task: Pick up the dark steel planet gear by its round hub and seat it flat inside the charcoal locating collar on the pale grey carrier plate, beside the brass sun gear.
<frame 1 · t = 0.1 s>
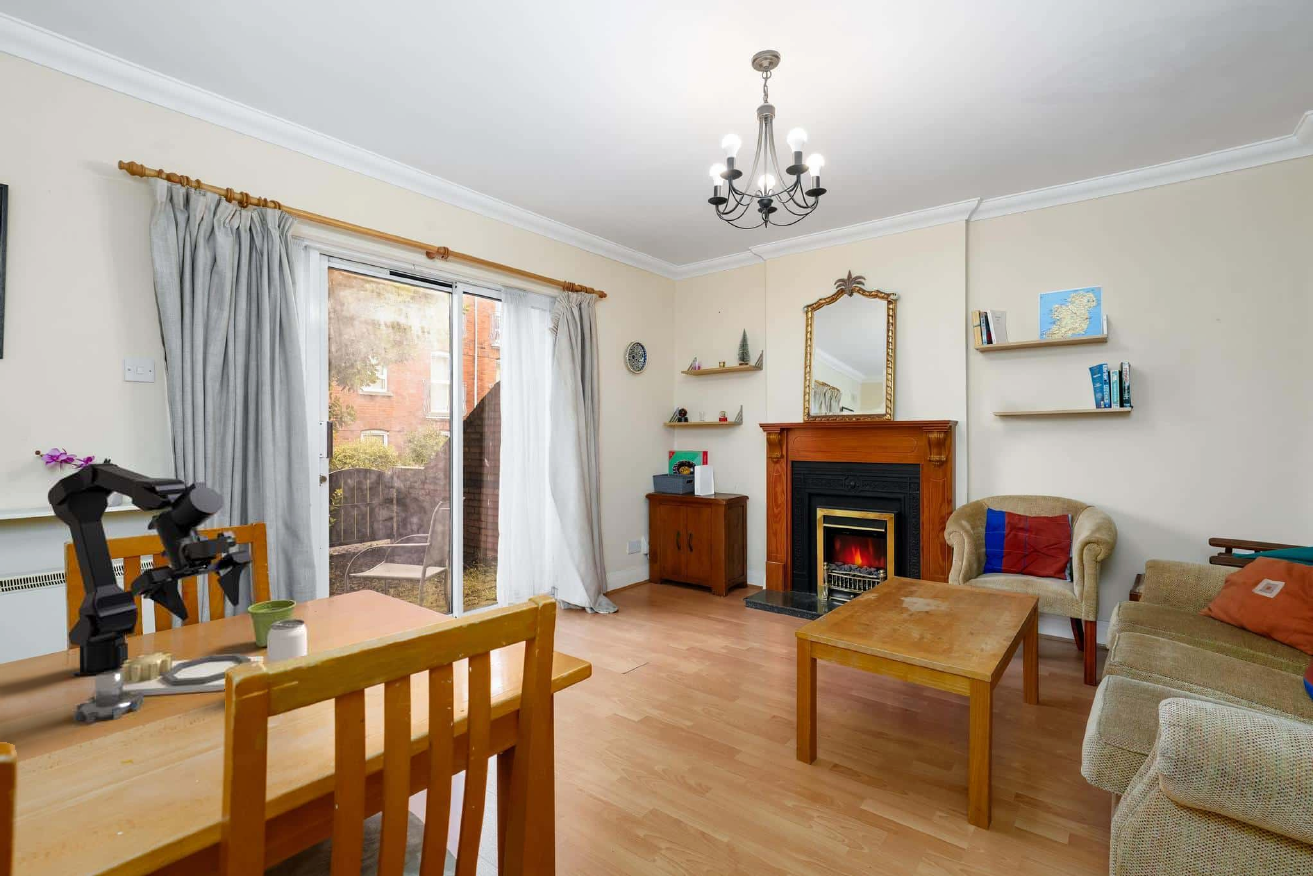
hand: (212, 612, 113), 15 cm above the table, tool tilted 30°, fingers open, 9 cm apart
plant pot: (272, 643, 139), on the table
carrier plate: (185, 678, 119), on the table
planet gear: (109, 711, 105), on the table
can: (287, 687, 116), on the table
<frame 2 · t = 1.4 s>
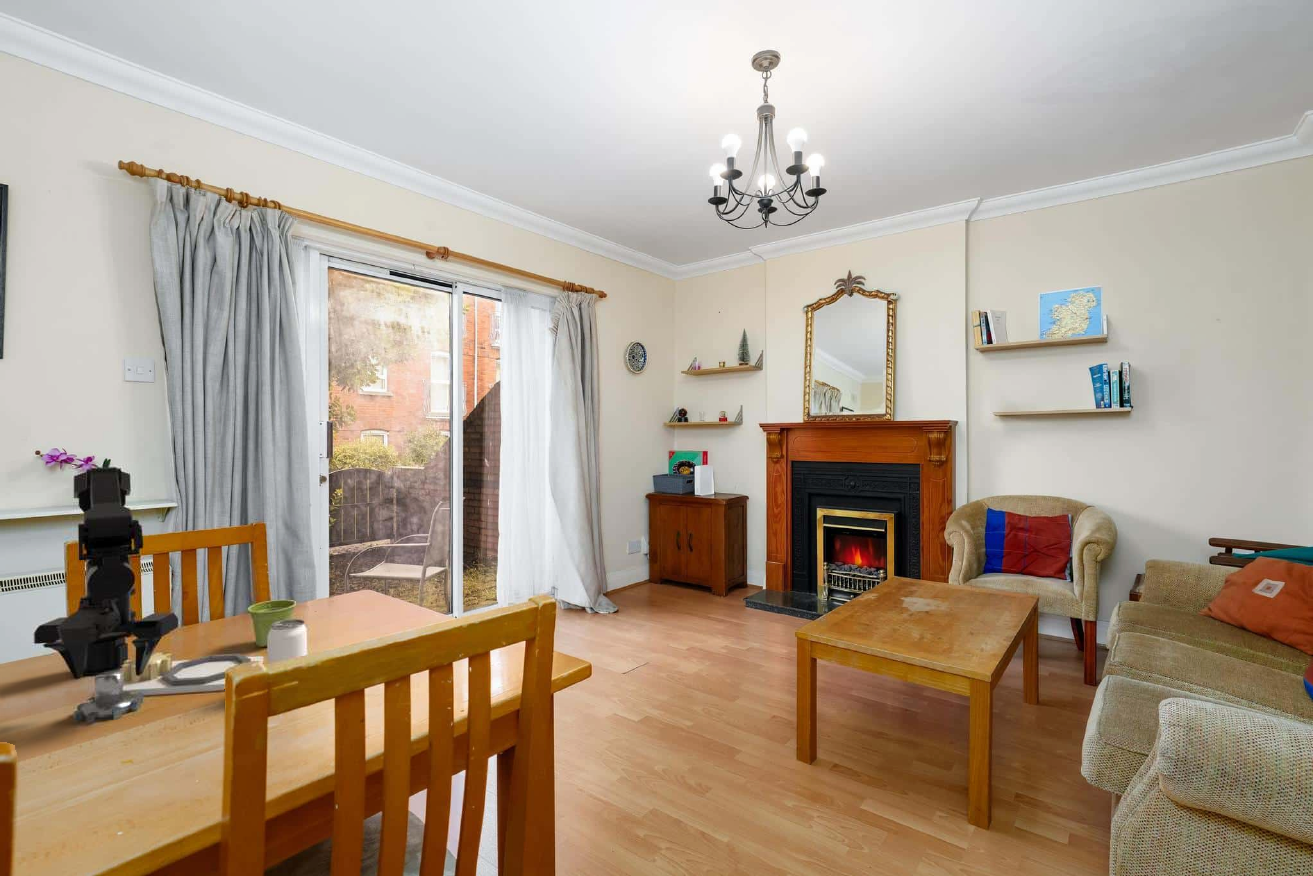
hand: (109, 676, 105), 6 cm above the table, tool pointing down, fingers open, 9 cm apart
nothing on the table moved.
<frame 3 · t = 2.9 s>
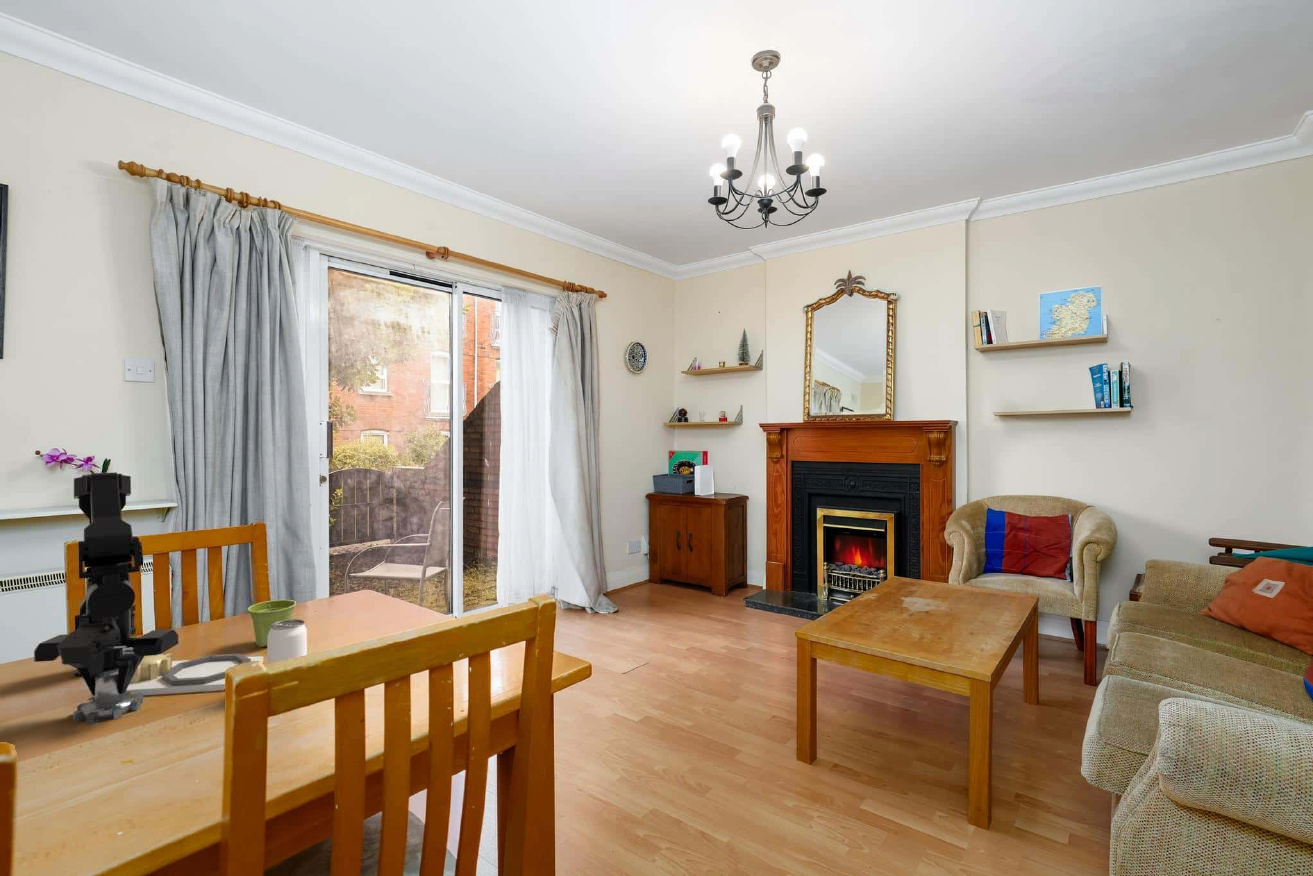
hand: (109, 694, 105), 3 cm above the table, tool pointing down, fingers closed on planet gear, 4 cm apart
planet gear: (109, 711, 105), on the table, touching gripper
everything else where it was.
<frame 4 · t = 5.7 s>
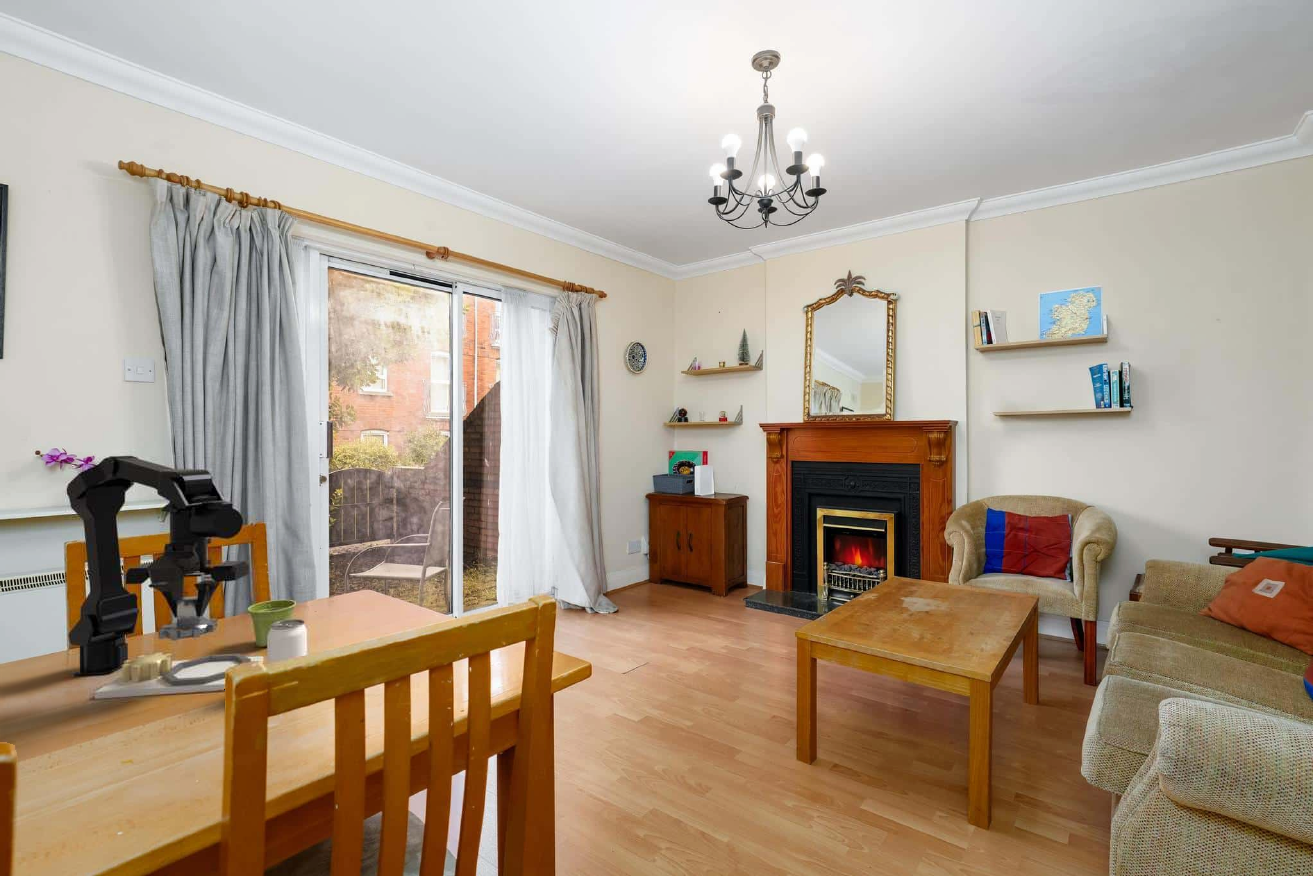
hand: (188, 616, 116), 13 cm above the table, tool pointing down, fingers closed on planet gear, 4 cm apart
planet gear: (188, 632, 116), point 10 cm above the table, touching gripper
everything else where it was.
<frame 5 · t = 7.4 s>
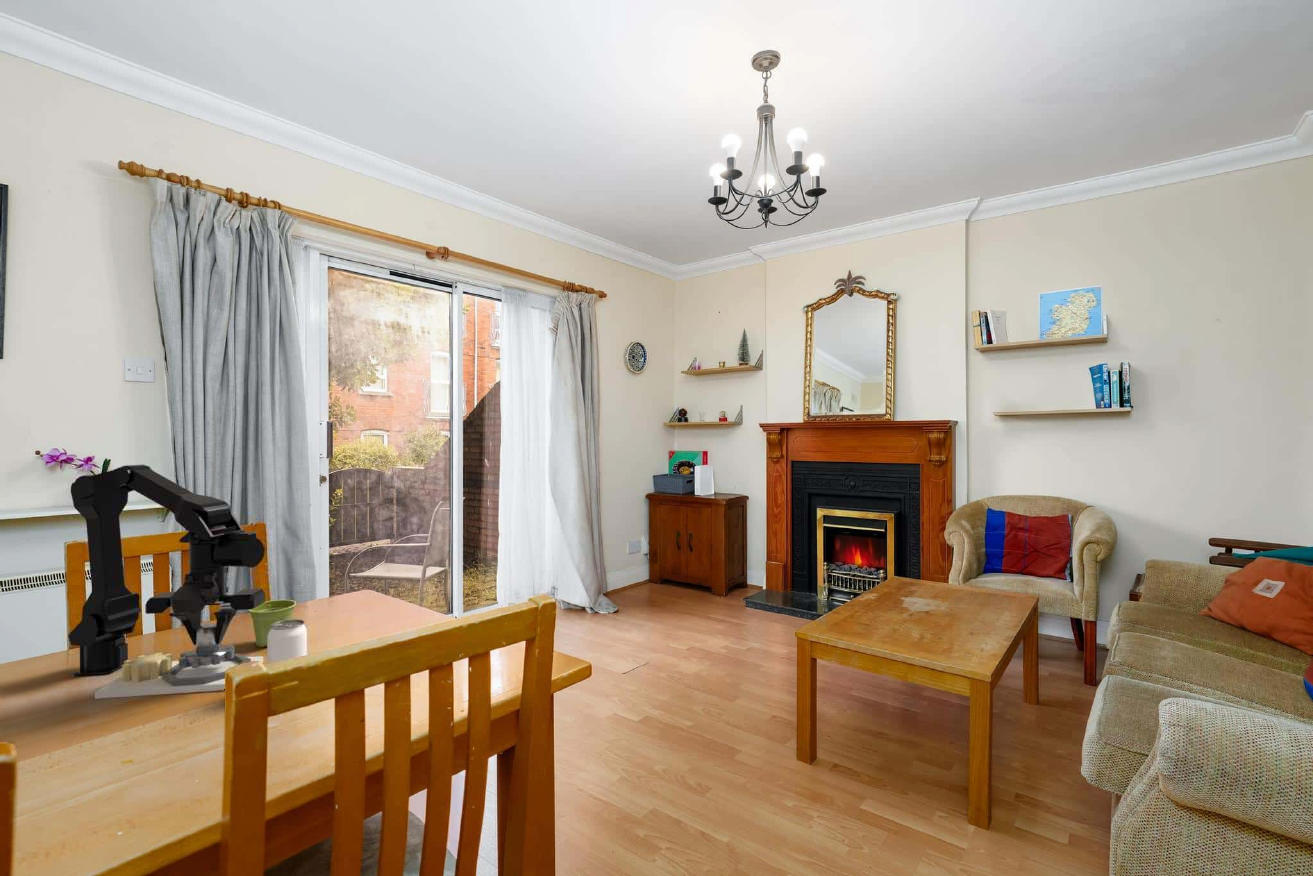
hand: (207, 644, 120), 7 cm above the table, tool pointing down, fingers closed on planet gear, 4 cm apart
planet gear: (207, 659, 120), point 4 cm above the table, touching gripper
everything else where it was.
when the fingers open (5 cm above the table, at t = 8.5 s): planet gear stays where it is, resting on carrier plate.
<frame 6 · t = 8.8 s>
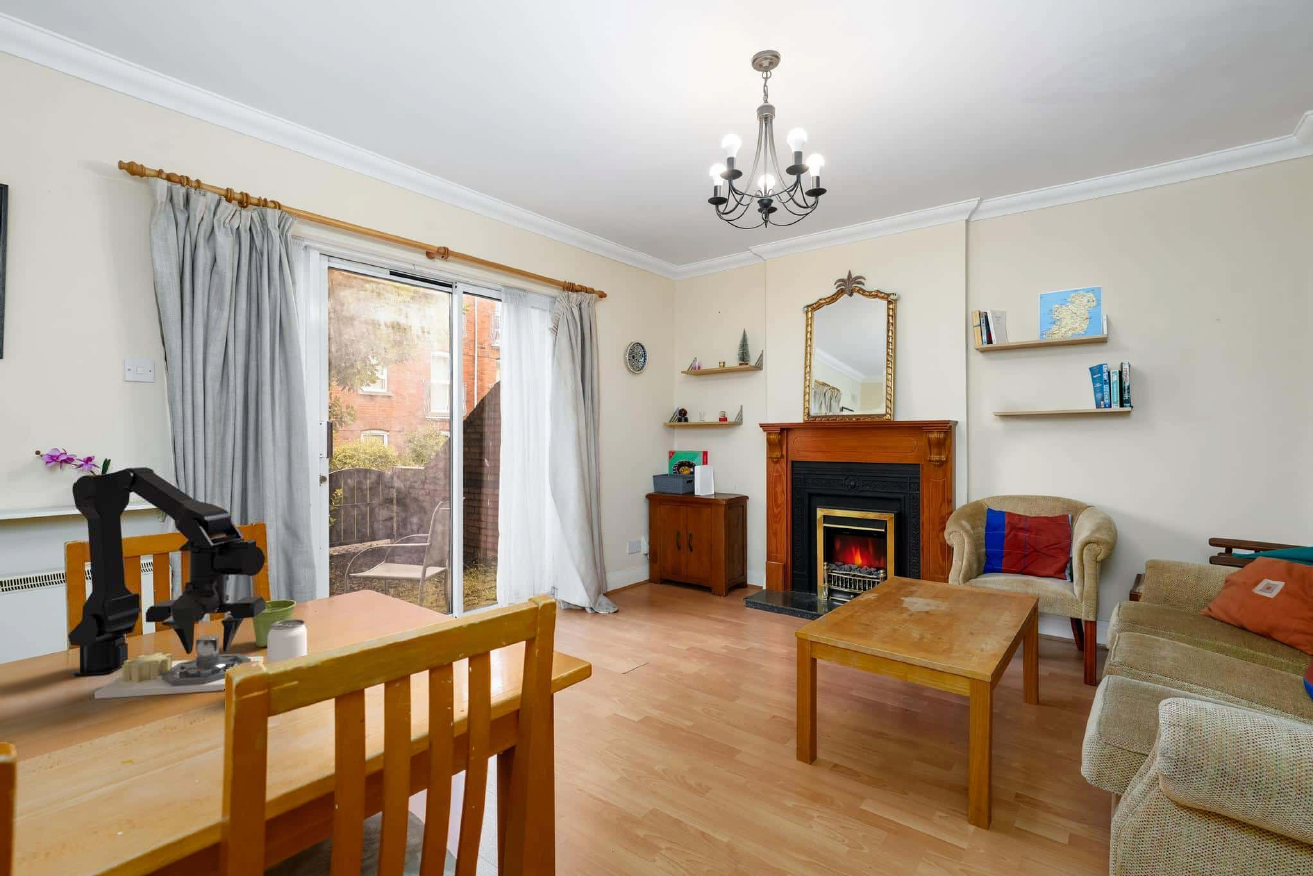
hand: (207, 652, 120), 5 cm above the table, tool pointing down, fingers open, 6 cm apart
planet gear: (207, 671, 120), point 1 cm above the table, touching carrier plate
everything else where it was.
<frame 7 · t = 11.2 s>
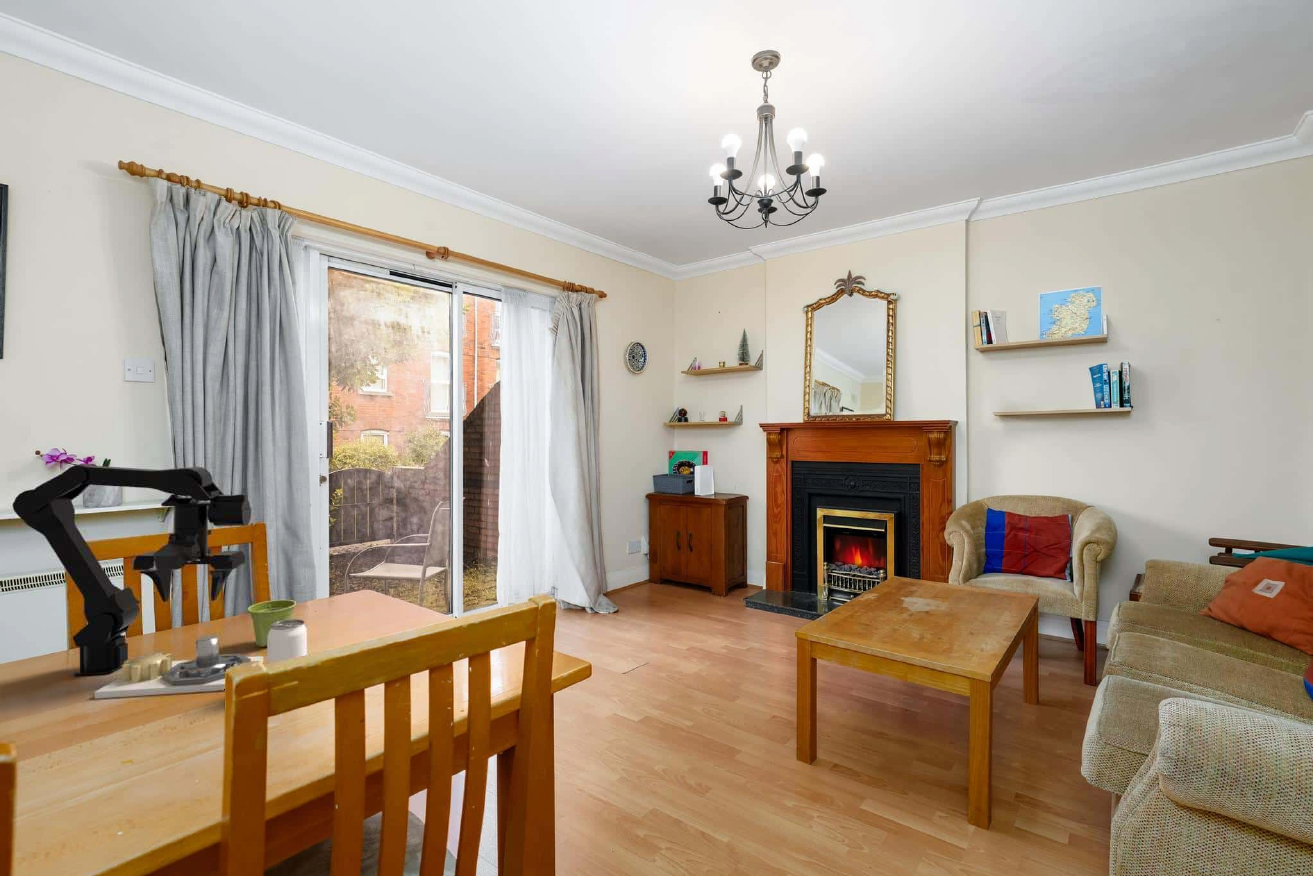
hand: (189, 600, 128), 13 cm above the table, tool pointing down, fingers open, 9 cm apart
nothing on the table moved.
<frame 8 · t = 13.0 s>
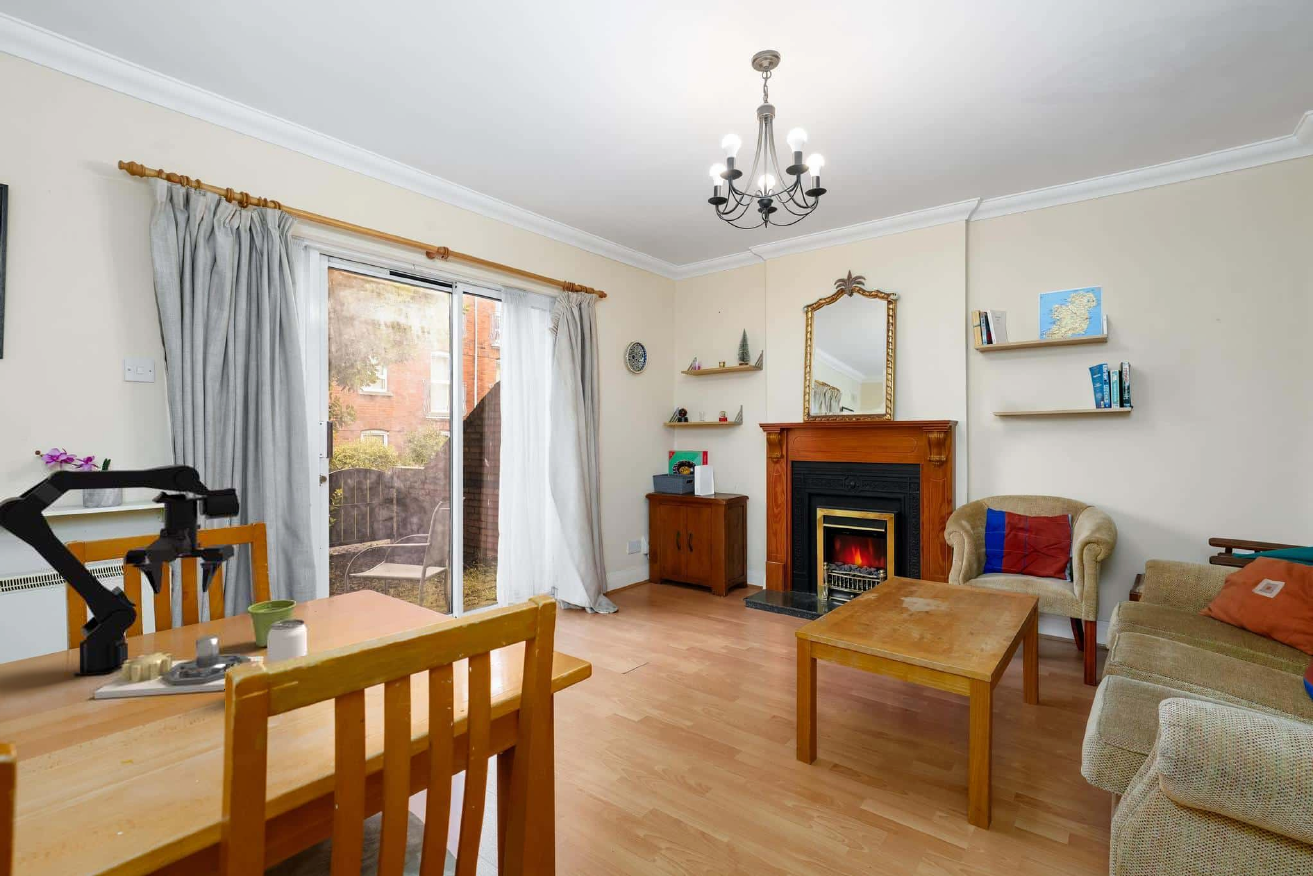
hand: (181, 593, 133), 13 cm above the table, tool pointing down, fingers open, 9 cm apart
nothing on the table moved.
at the end: planet gear 0.0 cm from the target spot on the carrier plate, point 1.2 cm above the carrier plate's base; planet gear tilted 0°; the gripper is holding nothing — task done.
